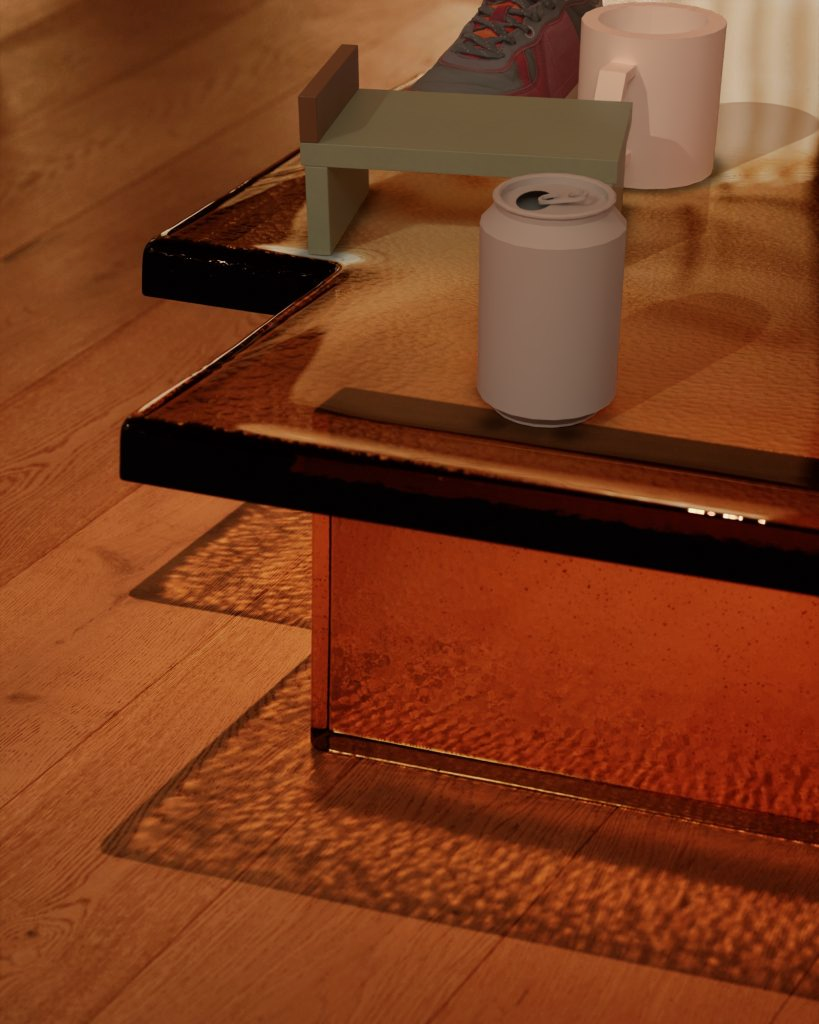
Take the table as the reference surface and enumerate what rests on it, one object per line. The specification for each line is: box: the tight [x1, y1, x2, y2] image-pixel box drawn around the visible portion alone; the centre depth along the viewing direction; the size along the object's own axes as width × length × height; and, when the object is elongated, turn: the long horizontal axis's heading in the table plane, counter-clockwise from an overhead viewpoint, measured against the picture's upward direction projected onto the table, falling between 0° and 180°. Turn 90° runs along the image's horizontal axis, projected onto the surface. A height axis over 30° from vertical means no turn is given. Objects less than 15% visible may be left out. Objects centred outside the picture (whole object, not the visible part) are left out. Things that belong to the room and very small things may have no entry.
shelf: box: [297, 43, 633, 257], centre depth 105 cm, size 20×12×10 cm, turn 79°
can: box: [476, 173, 628, 429], centre depth 84 cm, size 8×8×12 cm
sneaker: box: [406, 0, 604, 99], centre depth 126 cm, size 10×28×12 cm, turn 153°
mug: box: [578, 1, 728, 190], centre depth 115 cm, size 14×10×11 cm
